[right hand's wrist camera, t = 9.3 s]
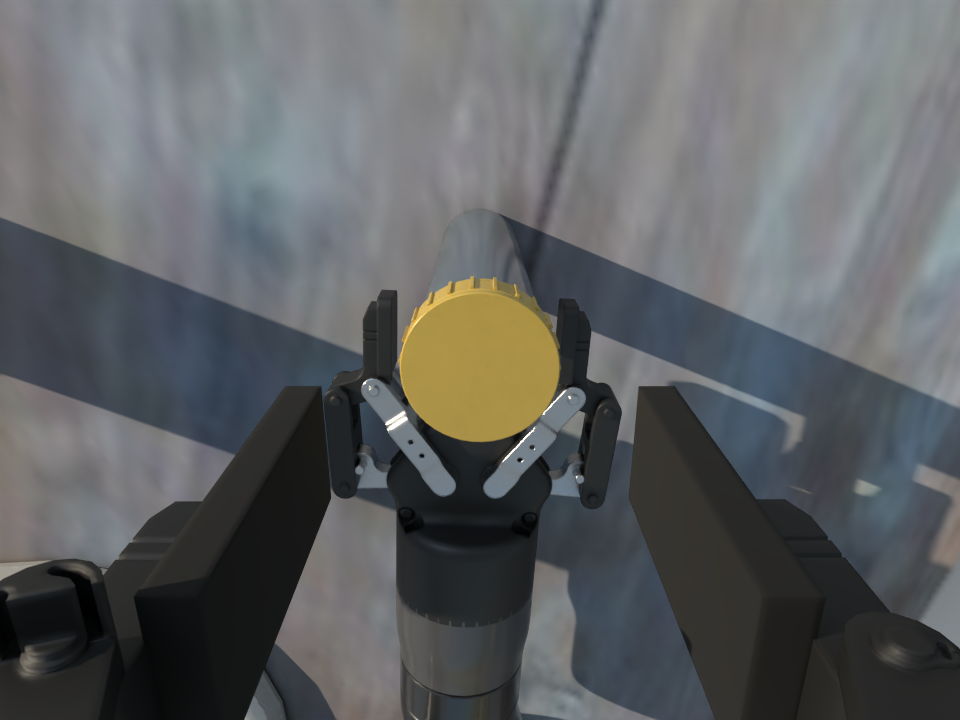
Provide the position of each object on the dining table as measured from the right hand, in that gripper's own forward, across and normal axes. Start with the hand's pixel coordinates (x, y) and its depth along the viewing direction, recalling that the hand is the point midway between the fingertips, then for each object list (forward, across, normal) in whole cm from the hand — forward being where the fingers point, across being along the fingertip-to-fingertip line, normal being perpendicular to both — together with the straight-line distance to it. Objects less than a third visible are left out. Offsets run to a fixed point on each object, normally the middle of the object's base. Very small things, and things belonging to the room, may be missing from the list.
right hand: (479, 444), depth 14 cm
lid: (+5, 0, 0) cm, 5 cm away
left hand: (+17, 0, +1) cm, 17 cm away
